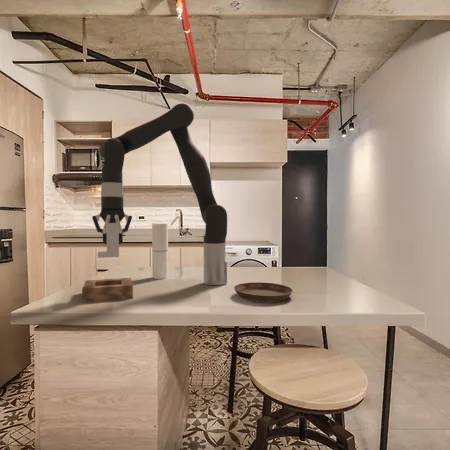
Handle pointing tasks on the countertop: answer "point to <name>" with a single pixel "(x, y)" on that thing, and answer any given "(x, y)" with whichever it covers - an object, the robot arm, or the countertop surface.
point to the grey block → (111, 241)
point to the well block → (107, 289)
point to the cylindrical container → (160, 250)
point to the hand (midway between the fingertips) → (112, 243)
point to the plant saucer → (263, 292)
